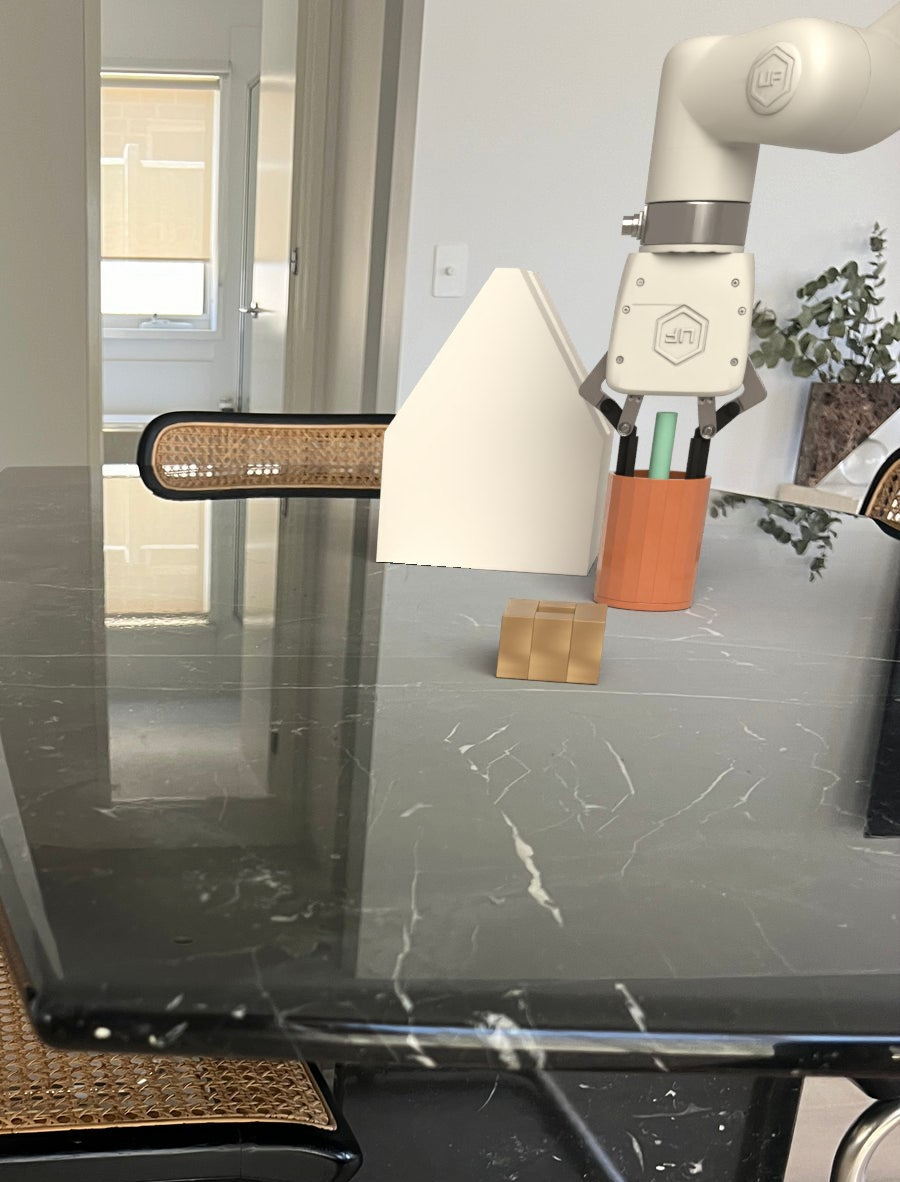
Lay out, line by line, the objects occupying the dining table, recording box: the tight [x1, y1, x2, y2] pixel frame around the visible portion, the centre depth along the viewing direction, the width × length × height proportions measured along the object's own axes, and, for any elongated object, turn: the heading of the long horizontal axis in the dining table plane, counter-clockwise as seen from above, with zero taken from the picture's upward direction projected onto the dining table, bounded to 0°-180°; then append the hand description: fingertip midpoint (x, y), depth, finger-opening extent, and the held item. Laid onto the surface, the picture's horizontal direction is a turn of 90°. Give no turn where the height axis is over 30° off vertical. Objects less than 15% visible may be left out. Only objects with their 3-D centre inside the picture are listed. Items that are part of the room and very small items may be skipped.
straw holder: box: [495, 597, 608, 685], centre depth 96 cm, size 6×6×4 cm
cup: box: [592, 468, 713, 612], centre depth 118 cm, size 8×8×10 cm
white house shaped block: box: [375, 267, 616, 577], centre depth 136 cm, size 19×15×25 cm
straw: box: [648, 411, 679, 479], centre depth 117 cm, size 2×2×14 cm
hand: (657, 487), depth 116 cm, fingers closed on cup, 4 cm apart
